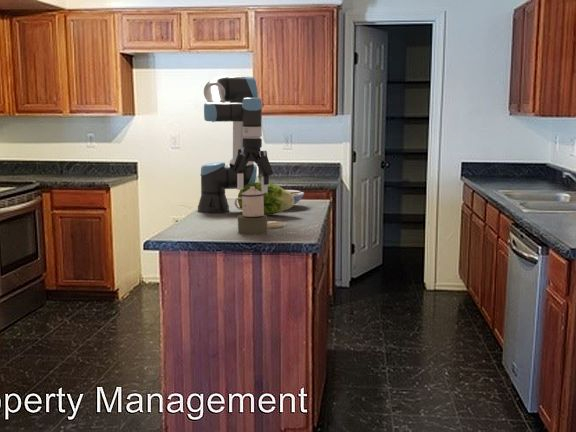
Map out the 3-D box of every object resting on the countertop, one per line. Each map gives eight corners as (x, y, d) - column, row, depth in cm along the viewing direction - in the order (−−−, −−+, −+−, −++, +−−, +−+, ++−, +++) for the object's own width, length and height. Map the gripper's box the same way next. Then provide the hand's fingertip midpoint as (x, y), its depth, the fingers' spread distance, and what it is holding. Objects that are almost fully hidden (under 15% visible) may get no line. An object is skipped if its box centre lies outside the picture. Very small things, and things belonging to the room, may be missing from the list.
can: (231, 232, 251) (231, 215, 250) (255, 228, 259) (255, 212, 258) (248, 236, 242) (248, 219, 241) (273, 233, 250) (273, 216, 248)
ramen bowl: (283, 201, 333) (283, 186, 331) (314, 206, 317) (315, 190, 316) (248, 207, 315) (248, 190, 314) (280, 212, 299) (280, 195, 298)
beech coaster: (254, 226, 264) (254, 223, 264) (270, 223, 271) (270, 220, 271) (271, 229, 257) (271, 226, 257) (287, 226, 265) (287, 223, 264)
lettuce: (292, 219, 281) (292, 185, 279) (234, 217, 285) (234, 183, 282) (296, 213, 296) (296, 181, 293) (241, 212, 300) (241, 180, 297)
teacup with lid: (266, 213, 253) (265, 185, 252) (262, 217, 245) (261, 187, 243) (237, 213, 255) (236, 185, 253) (232, 217, 246) (231, 188, 244)
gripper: (223, 136, 249) (224, 189, 253) (268, 139, 233) (268, 195, 237) (237, 136, 255) (237, 187, 259) (282, 138, 239) (281, 193, 242)
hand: (252, 191), depth 248 cm, fingers open, 13 cm apart
